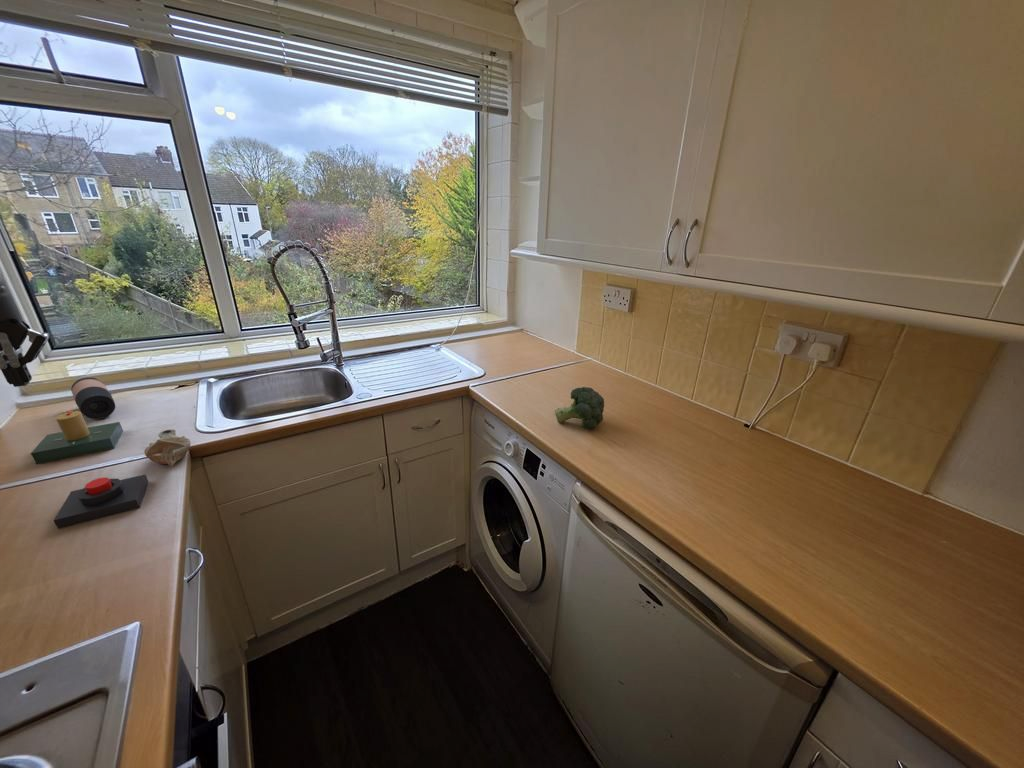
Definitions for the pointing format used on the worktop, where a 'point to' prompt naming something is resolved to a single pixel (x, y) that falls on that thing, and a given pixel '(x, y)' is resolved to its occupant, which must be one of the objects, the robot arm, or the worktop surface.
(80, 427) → the dimmer knob
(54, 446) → the dimmer panel
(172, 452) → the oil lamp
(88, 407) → the travel mug
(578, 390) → the vegetable
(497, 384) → the worktop surface
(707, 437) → the worktop surface
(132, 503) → the switch block
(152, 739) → the worktop surface
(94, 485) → the light button
